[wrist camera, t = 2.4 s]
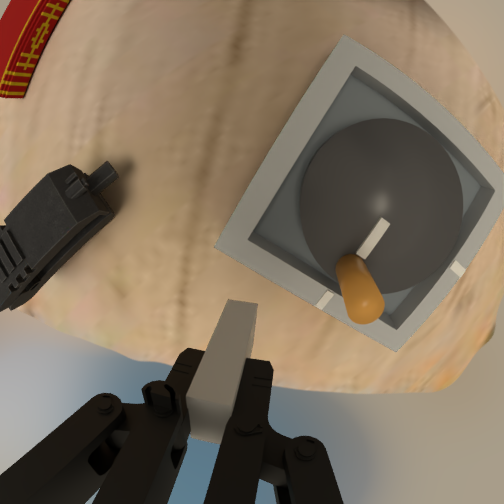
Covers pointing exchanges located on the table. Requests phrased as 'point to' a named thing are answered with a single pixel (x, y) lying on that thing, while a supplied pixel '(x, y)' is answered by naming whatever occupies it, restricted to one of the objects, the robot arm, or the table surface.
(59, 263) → the tool
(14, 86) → the book
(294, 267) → the square crank box
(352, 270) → the crank dial
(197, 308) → the table surface
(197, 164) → the table surface
